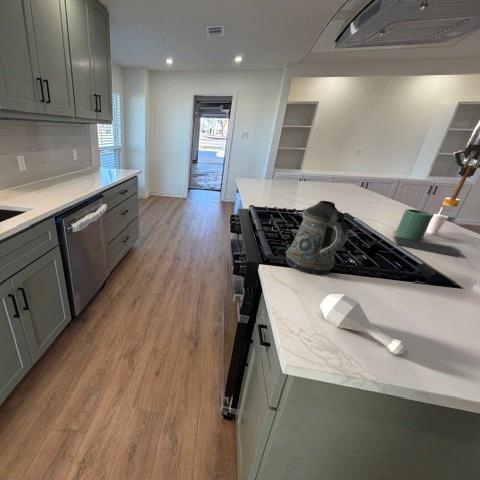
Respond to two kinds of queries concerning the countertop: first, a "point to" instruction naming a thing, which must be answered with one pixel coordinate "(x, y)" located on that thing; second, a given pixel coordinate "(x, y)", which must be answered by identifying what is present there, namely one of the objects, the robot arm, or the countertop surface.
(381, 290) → the countertop surface
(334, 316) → the chicken leg
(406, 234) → the jar
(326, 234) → the beer stein
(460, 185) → the brush
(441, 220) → the smoothie
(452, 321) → the countertop surface
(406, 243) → the drying mat
